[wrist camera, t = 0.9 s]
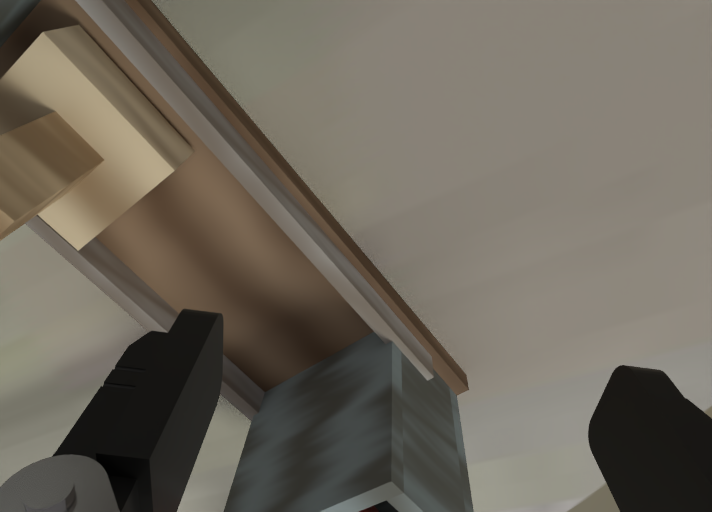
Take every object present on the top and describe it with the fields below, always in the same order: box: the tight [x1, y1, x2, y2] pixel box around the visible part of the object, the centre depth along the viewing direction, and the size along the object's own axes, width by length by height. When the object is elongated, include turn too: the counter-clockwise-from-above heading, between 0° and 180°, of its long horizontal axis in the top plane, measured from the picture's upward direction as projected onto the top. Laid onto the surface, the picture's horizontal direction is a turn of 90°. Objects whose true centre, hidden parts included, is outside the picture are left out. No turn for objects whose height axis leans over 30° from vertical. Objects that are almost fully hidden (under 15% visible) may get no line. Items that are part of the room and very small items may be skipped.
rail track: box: [0, 0, 473, 512], centre depth 27 cm, size 14×40×14 cm, turn 37°
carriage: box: [0, 25, 195, 251], centre depth 24 cm, size 8×8×10 cm
